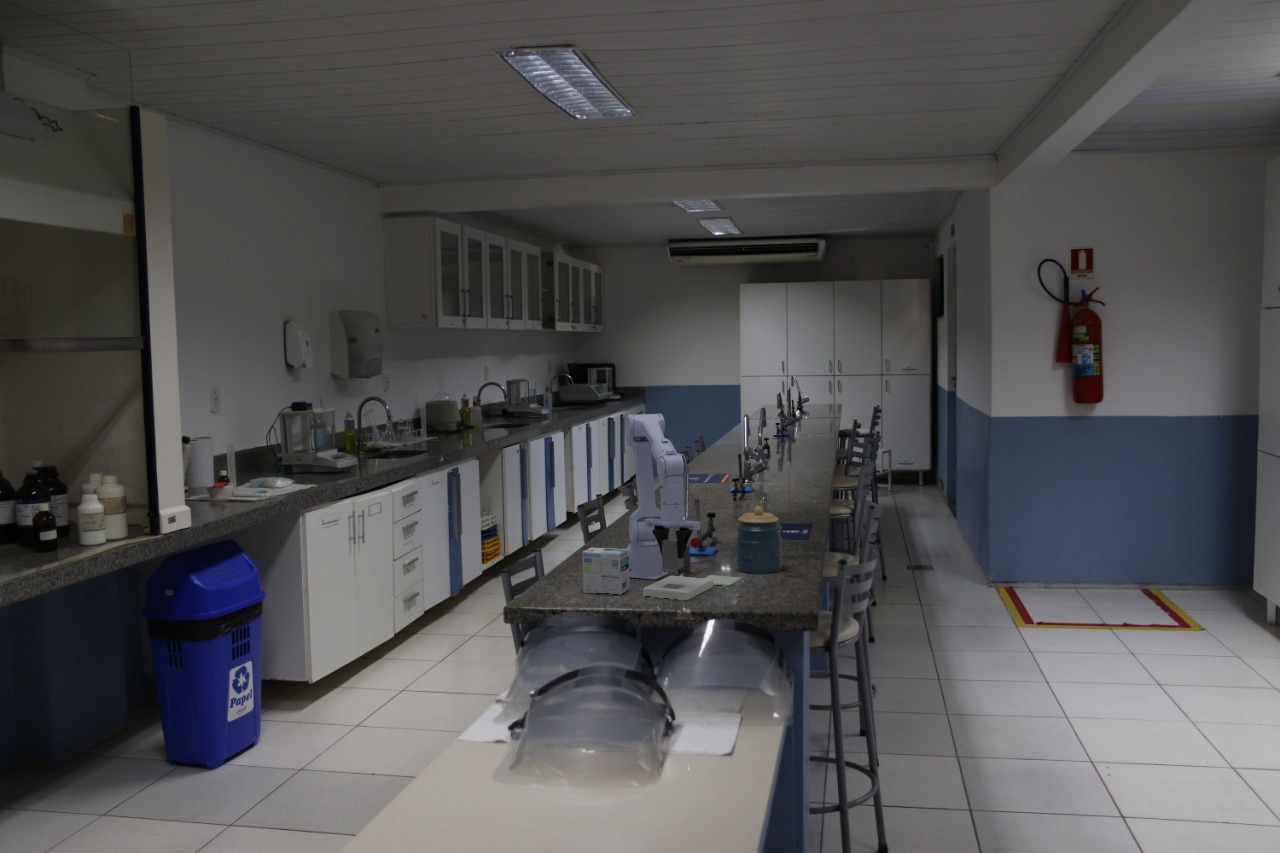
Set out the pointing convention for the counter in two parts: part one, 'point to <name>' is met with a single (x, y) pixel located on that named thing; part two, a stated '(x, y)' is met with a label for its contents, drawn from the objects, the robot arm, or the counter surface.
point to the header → (678, 587)
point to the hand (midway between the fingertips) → (672, 557)
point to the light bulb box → (606, 570)
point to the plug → (671, 554)
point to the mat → (723, 580)
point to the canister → (758, 543)
